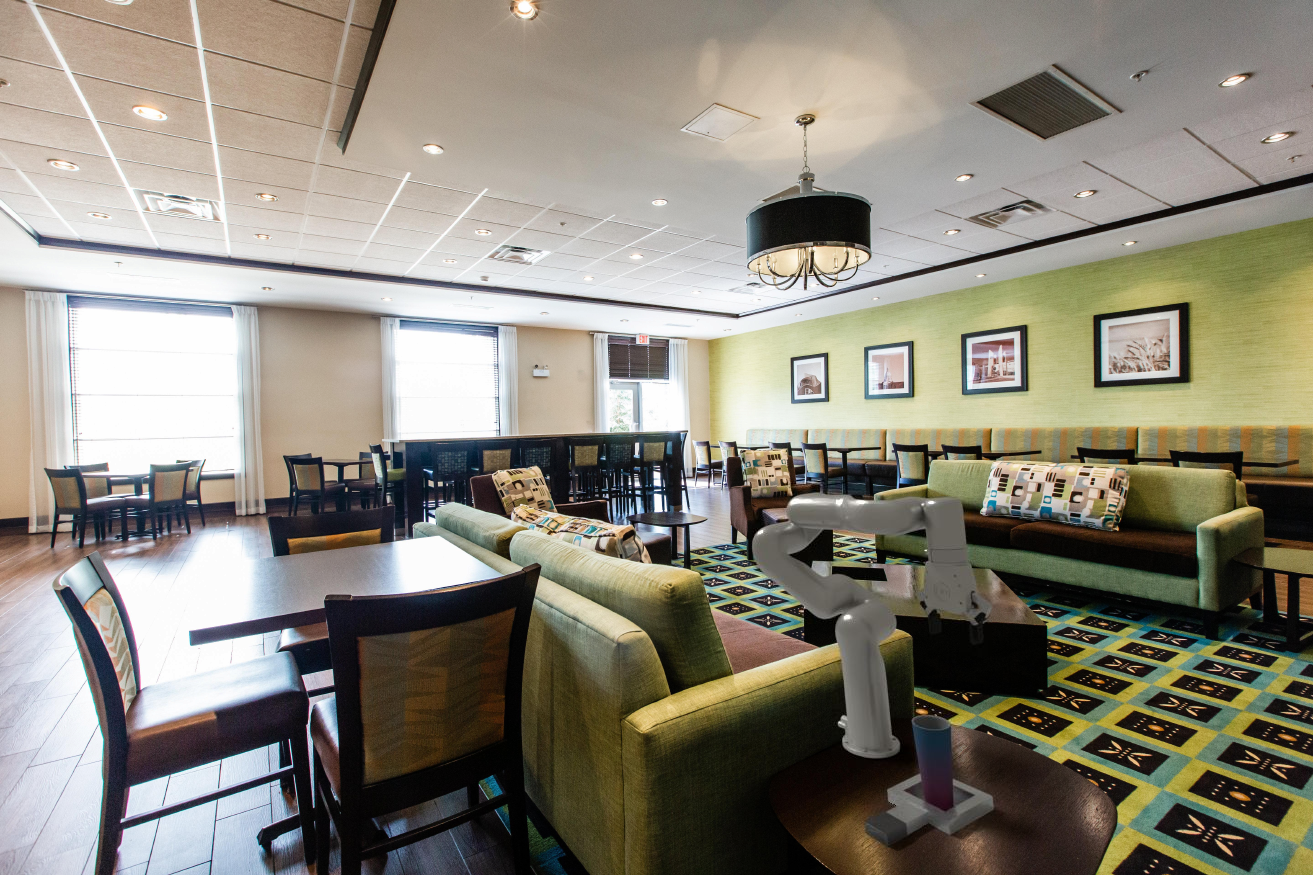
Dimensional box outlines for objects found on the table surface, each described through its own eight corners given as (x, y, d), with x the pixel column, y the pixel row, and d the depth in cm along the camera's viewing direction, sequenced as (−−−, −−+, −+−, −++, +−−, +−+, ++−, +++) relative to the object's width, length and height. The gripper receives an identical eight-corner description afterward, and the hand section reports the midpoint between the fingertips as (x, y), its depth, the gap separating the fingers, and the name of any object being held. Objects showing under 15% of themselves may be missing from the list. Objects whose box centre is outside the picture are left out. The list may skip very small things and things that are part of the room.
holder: (931, 780, 121) (930, 768, 121) (993, 809, 110) (992, 795, 110) (848, 822, 109) (847, 808, 110) (908, 859, 98) (907, 844, 98)
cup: (963, 813, 109) (955, 730, 110) (924, 812, 110) (916, 729, 111) (953, 793, 115) (945, 714, 116) (915, 792, 117) (908, 714, 118)
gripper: (902, 554, 132) (909, 632, 131) (973, 562, 116) (982, 651, 115) (925, 550, 135) (932, 626, 134) (998, 557, 120) (1006, 643, 119)
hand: (955, 637), depth 125 cm, fingers open, 9 cm apart
